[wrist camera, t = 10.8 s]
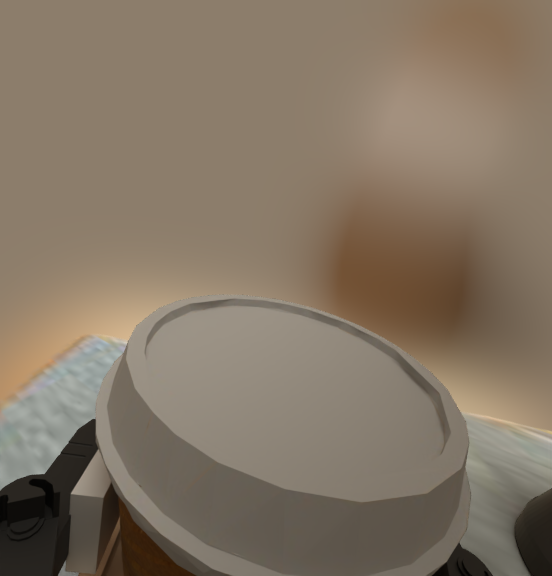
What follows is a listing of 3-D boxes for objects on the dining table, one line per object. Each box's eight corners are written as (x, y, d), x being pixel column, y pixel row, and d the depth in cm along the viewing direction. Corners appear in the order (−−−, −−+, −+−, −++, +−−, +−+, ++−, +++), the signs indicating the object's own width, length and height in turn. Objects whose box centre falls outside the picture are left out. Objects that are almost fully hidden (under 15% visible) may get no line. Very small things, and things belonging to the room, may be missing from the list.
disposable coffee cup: (302, 1057, 6) (633, 736, 3) (-12, 724, 9) (-27, 355, 6) (354, 569, 15) (451, 351, 12) (189, 475, 18) (230, 275, 14)
